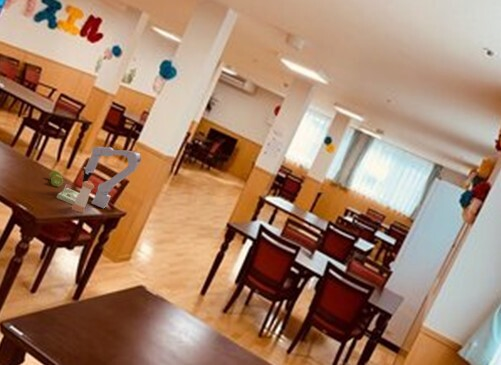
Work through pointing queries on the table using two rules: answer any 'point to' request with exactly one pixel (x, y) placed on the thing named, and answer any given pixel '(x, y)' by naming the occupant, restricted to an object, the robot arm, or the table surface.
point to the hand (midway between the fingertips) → (84, 182)
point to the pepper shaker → (83, 196)
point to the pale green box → (67, 194)
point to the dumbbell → (56, 178)
